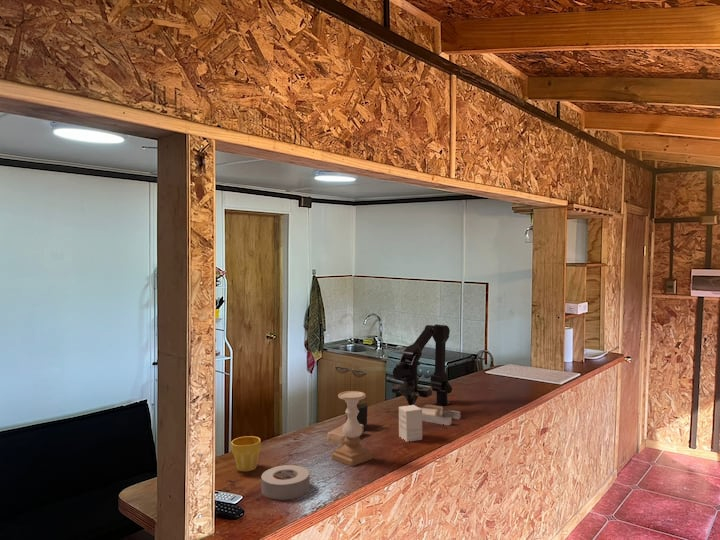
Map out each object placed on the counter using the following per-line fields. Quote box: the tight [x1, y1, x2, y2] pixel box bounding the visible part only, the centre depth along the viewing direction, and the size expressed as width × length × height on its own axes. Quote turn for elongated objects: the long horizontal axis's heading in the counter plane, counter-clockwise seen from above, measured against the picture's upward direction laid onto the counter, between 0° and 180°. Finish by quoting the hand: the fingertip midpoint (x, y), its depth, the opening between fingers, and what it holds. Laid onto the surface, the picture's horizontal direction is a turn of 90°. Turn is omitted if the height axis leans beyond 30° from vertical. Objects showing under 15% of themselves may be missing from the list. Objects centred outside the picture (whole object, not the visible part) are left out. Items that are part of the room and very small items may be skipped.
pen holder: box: [345, 403, 369, 431], centre depth 238 cm, size 9×9×10 cm
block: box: [420, 404, 444, 416], centre depth 251 cm, size 8×8×5 cm
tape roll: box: [260, 464, 311, 501], centre depth 176 cm, size 15×15×5 cm
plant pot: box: [230, 435, 262, 472], centre depth 193 cm, size 10×10×10 cm
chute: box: [422, 408, 462, 426], centre depth 250 cm, size 13×18×3 cm
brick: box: [326, 422, 365, 447], centre depth 224 cm, size 17×8×5 cm, turn 151°
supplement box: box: [398, 404, 423, 443], centre depth 224 cm, size 7×7×13 cm
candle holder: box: [331, 390, 373, 467], centre depth 202 cm, size 11×11×24 cm
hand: (411, 409), depth 257 cm, fingers closed
